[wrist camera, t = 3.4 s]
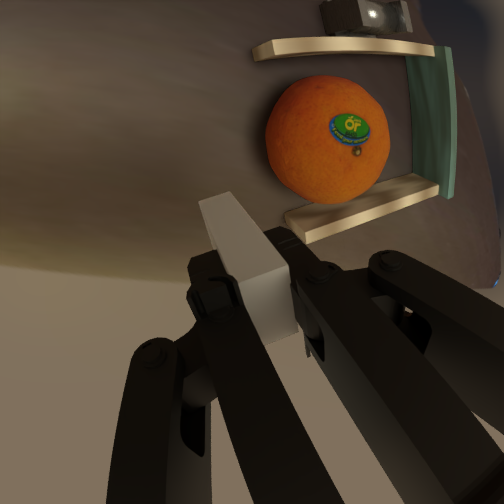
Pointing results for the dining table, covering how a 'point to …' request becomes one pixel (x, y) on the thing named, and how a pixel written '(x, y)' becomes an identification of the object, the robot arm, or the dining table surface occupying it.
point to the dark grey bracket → (365, 18)
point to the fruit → (327, 139)
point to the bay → (423, 132)
